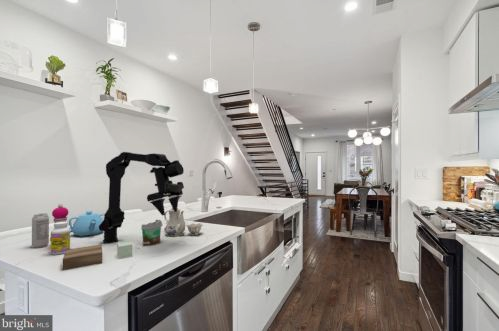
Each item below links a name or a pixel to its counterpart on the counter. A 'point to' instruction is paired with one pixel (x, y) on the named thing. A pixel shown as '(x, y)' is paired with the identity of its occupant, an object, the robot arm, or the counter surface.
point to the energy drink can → (40, 230)
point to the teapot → (86, 224)
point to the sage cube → (124, 250)
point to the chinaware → (179, 224)
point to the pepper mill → (60, 214)
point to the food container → (151, 233)
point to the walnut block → (82, 257)
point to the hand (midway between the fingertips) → (169, 213)
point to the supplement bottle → (60, 238)
